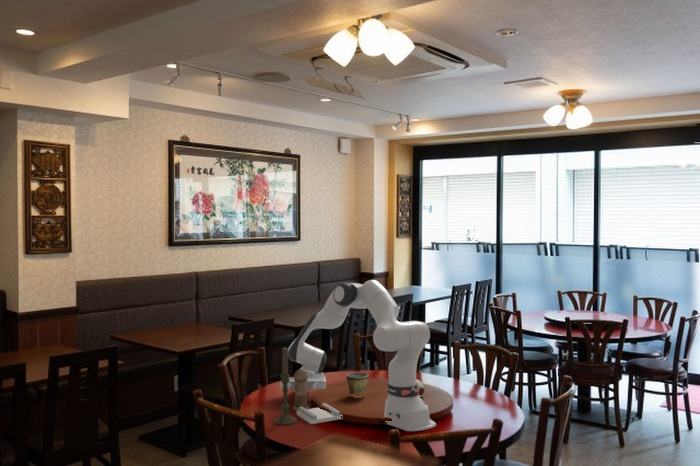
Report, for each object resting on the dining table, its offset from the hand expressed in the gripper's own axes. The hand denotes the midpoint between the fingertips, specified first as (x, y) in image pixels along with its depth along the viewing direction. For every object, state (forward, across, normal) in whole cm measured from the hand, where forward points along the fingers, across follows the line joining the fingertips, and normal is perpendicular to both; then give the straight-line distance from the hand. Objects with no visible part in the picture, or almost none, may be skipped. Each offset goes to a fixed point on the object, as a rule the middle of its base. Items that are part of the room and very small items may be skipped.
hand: (301, 387), depth 260 cm
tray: (+13, +9, +8) cm, 18 cm away
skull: (-18, +50, +9) cm, 54 cm away
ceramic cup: (-18, +24, +9) cm, 31 cm away
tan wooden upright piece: (+2, 0, +8) cm, 9 cm away
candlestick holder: (+19, -4, +9) cm, 21 cm away
